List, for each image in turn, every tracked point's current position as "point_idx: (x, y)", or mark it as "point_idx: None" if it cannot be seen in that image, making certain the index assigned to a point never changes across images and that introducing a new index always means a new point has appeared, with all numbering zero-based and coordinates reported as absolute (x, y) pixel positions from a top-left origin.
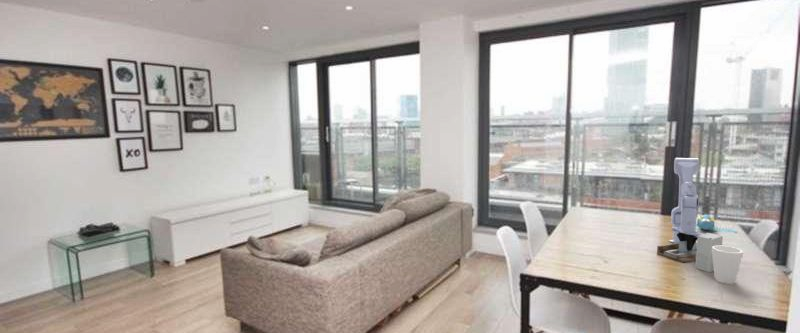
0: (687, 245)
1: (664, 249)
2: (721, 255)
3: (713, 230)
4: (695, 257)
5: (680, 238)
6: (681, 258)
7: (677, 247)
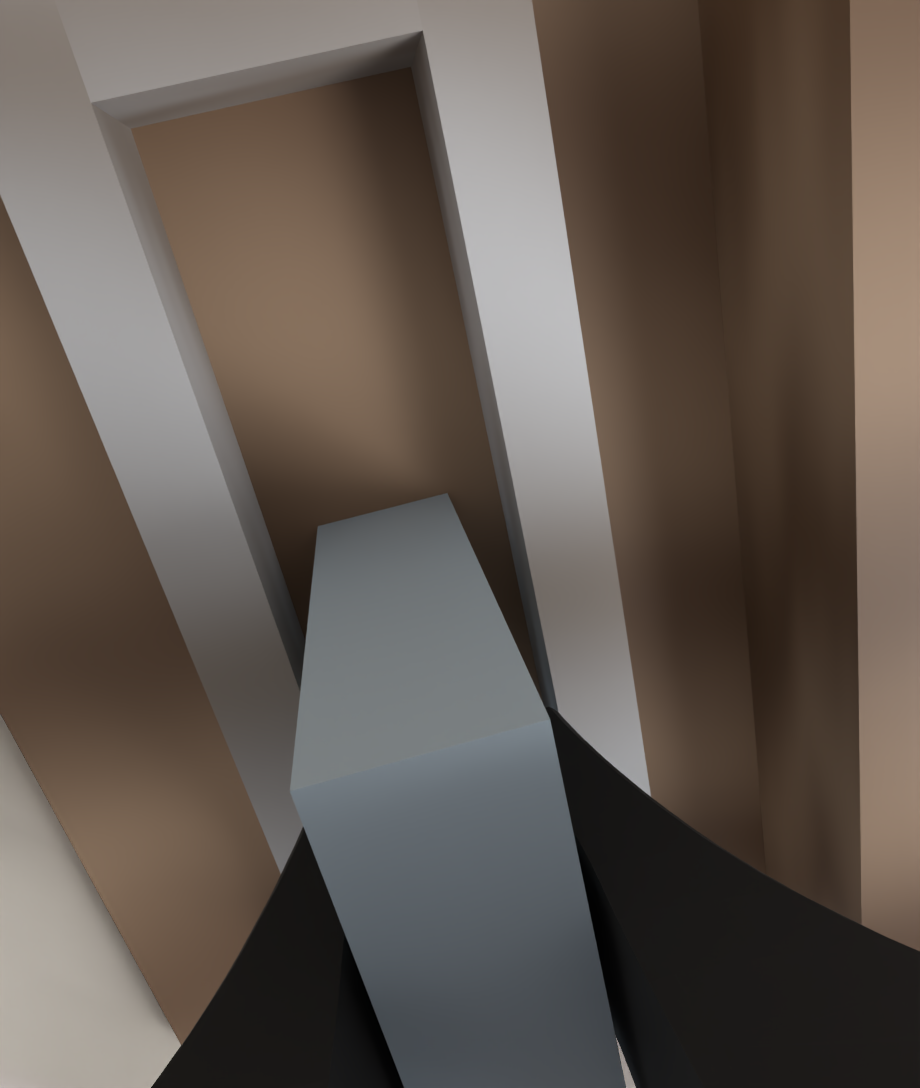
0: None
1: (756, 189)
2: None
3: None
4: (111, 738)
5: (731, 974)
6: (8, 278)
7: (786, 724)
